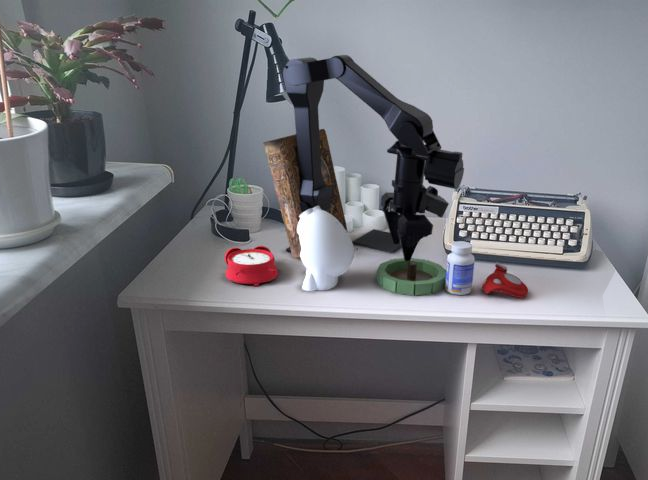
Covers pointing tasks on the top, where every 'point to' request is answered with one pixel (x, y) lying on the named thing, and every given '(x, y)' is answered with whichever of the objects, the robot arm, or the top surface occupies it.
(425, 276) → the ring stand
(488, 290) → the tracker holder
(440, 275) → the ring
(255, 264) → the alarm clock
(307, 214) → the figurine
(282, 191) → the book
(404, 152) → the robot arm
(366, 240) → the mat
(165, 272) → the top surface
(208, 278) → the top surface
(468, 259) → the pill bottle
